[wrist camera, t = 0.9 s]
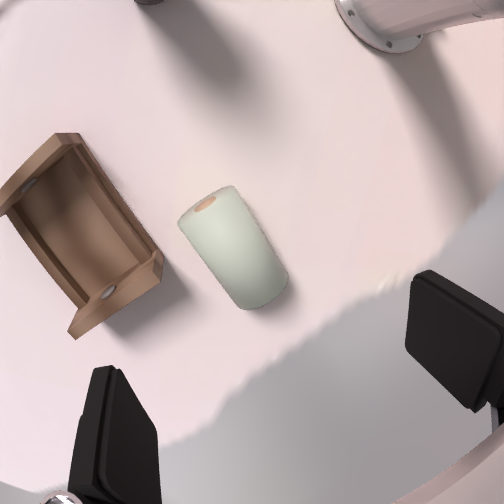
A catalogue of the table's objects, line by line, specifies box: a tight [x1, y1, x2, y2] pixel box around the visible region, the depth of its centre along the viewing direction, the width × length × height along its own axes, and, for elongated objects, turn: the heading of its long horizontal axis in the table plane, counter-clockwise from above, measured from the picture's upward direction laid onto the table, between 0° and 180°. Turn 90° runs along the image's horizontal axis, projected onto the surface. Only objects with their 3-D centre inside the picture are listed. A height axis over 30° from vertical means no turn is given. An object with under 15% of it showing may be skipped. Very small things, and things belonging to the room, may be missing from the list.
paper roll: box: [177, 186, 288, 310], centre depth 29 cm, size 10×6×6 cm, turn 31°
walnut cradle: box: [0, 133, 164, 340], centre depth 25 cm, size 11×15×6 cm
